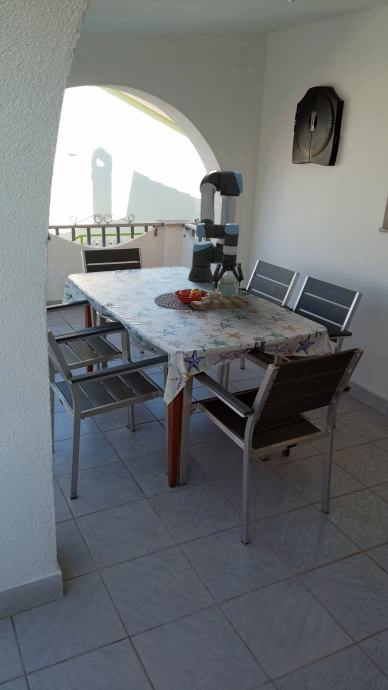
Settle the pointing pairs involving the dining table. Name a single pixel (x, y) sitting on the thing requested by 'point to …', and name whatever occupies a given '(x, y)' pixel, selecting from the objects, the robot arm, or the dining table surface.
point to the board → (220, 303)
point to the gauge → (213, 297)
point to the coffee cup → (227, 285)
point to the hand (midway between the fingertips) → (226, 293)
